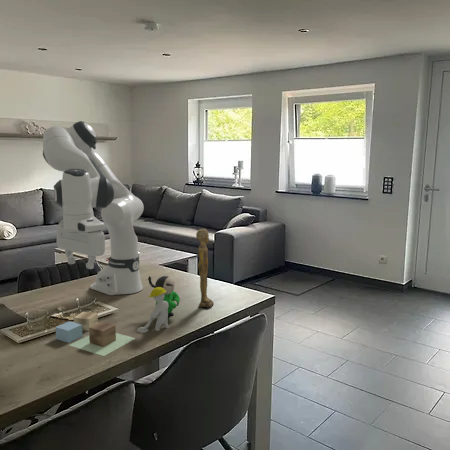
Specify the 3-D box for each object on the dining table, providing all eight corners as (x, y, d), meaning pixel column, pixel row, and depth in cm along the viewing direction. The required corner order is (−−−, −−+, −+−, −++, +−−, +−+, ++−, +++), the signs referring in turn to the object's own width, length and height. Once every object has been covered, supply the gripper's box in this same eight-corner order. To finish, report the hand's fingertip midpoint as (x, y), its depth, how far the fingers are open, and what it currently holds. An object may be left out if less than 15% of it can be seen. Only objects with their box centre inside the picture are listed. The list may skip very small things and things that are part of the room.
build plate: (68, 348, 137) (68, 345, 137) (102, 332, 149) (102, 329, 149) (103, 359, 131) (103, 355, 130) (135, 341, 143) (135, 338, 142)
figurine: (148, 323, 157) (147, 281, 154) (172, 327, 154) (172, 284, 151) (133, 335, 147) (132, 290, 144) (159, 339, 144) (158, 293, 142)
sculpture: (210, 309, 171) (211, 230, 165) (194, 308, 172) (194, 229, 167) (214, 303, 177) (215, 227, 172) (198, 302, 178) (199, 226, 173)
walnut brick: (89, 343, 139) (89, 327, 138) (102, 336, 143) (102, 321, 142) (103, 347, 136) (102, 331, 135) (115, 340, 141) (115, 324, 140)
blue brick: (56, 342, 141) (55, 327, 141) (70, 335, 146) (69, 321, 145) (69, 346, 139) (68, 330, 138) (82, 339, 144) (82, 324, 143)
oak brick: (74, 332, 149) (73, 317, 148) (83, 325, 154) (82, 311, 154) (89, 333, 148) (89, 319, 147) (98, 327, 153) (97, 313, 152)
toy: (172, 323, 157) (171, 281, 154) (142, 319, 160) (141, 278, 158) (182, 313, 166) (182, 274, 163) (154, 310, 169) (154, 271, 167)
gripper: (50, 220, 144) (52, 262, 146) (90, 227, 132) (92, 273, 134) (67, 217, 149) (69, 259, 151) (107, 224, 137) (109, 269, 139)
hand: (80, 266), depth 143 cm, fingers open, 8 cm apart
